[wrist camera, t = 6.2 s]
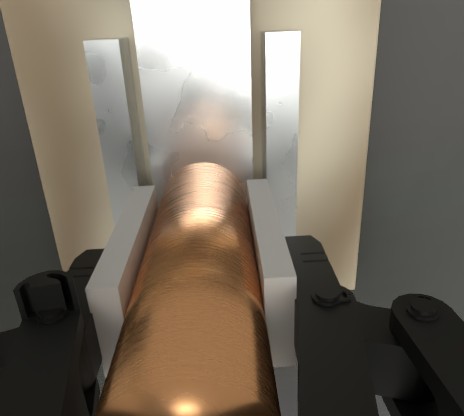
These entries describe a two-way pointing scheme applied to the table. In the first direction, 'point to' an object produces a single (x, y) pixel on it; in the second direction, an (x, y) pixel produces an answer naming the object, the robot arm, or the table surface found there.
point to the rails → (128, 127)
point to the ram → (195, 225)
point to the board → (310, 113)
